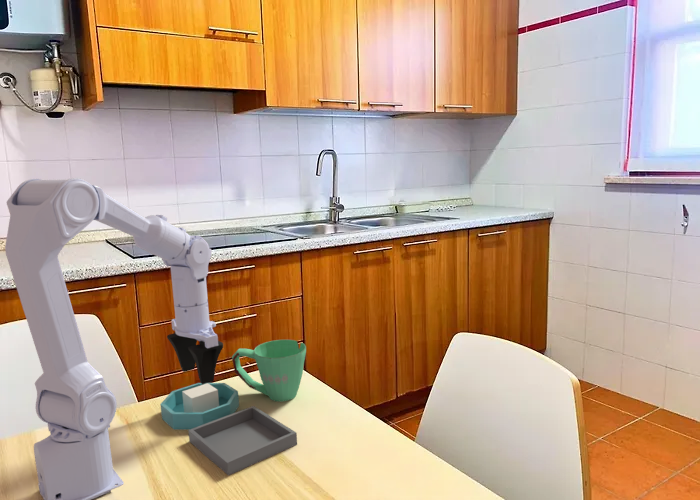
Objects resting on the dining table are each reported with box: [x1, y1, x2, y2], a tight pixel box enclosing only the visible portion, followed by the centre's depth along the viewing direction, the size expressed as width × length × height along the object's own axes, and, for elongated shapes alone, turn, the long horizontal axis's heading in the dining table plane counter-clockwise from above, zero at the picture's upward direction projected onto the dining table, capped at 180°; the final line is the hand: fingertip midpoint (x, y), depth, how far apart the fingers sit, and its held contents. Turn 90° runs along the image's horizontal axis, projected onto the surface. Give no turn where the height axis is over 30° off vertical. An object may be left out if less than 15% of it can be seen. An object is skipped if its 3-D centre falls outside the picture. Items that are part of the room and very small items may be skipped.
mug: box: [231, 339, 307, 403], centre depth 105 cm, size 15×10×10 cm
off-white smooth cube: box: [182, 383, 219, 412], centre depth 99 cm, size 5×4×4 cm
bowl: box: [160, 382, 240, 431], centre depth 99 cm, size 13×13×3 cm
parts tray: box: [187, 405, 298, 477], centre depth 88 cm, size 12×13×2 cm
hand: (197, 375), depth 98 cm, fingers open, 7 cm apart
